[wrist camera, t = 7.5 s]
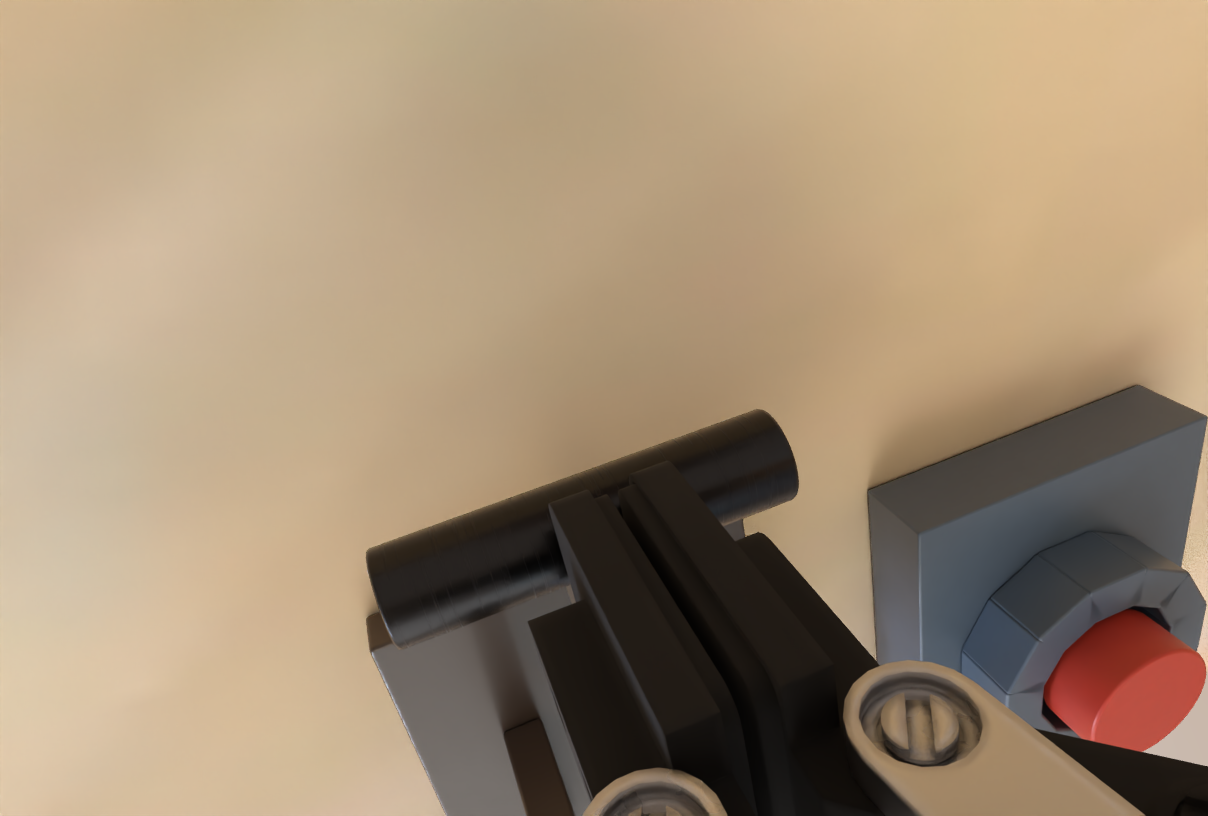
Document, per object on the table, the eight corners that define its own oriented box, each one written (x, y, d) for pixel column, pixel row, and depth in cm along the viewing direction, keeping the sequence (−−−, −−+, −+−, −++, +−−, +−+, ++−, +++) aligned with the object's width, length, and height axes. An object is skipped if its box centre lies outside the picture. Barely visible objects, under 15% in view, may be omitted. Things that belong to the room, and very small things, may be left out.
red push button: (1045, 638, 22) (1100, 685, 20) (1156, 588, 23) (1217, 630, 21) (1037, 730, 24) (1087, 780, 22) (1141, 681, 24) (1197, 726, 23)
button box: (866, 489, 23) (968, 577, 19) (1138, 383, 24) (1276, 446, 21) (881, 756, 28) (963, 861, 25) (1104, 654, 30) (1209, 739, 26)
